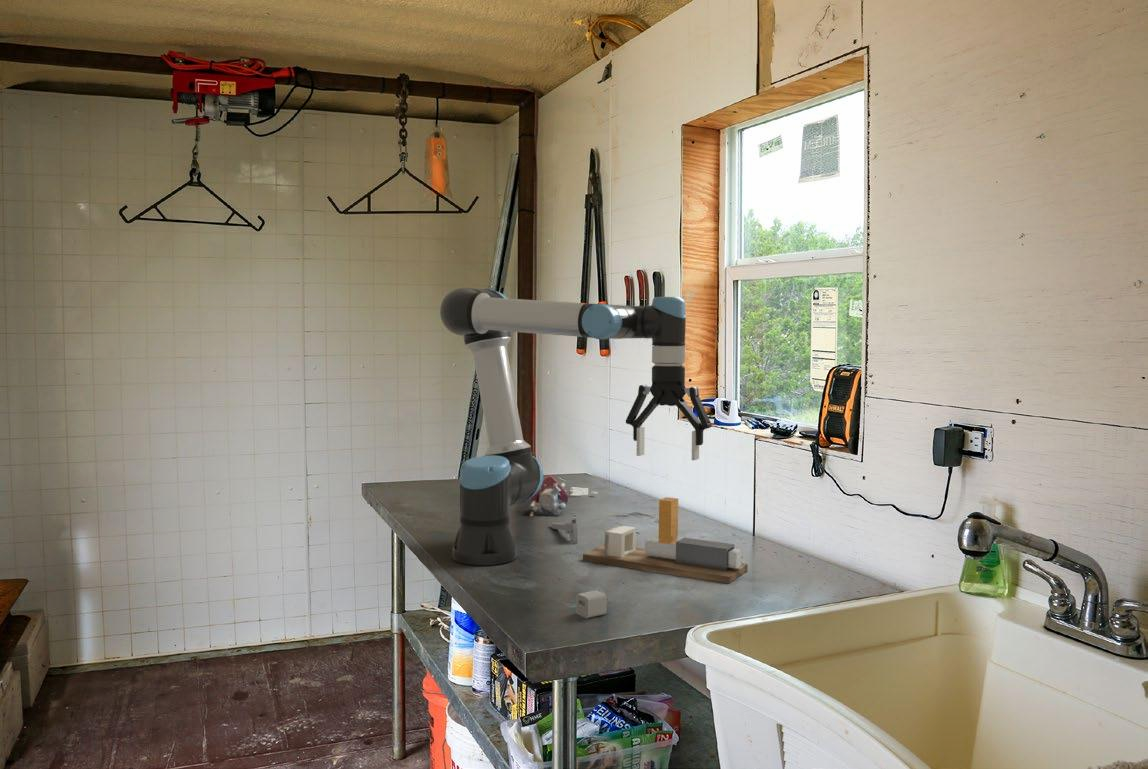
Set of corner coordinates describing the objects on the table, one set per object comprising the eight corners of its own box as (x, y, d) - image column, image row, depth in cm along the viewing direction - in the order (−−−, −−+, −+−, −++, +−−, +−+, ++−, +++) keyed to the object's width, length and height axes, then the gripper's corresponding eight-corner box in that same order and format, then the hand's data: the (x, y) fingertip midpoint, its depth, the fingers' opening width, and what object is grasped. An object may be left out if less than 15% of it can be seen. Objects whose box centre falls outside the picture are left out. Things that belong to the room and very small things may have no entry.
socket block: (621, 557, 207) (621, 533, 207) (604, 554, 210) (604, 531, 209) (635, 550, 214) (636, 527, 214) (619, 547, 216) (619, 525, 216)
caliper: (577, 544, 226) (577, 520, 226) (573, 545, 226) (573, 520, 226) (553, 527, 246) (553, 504, 245) (549, 527, 245) (549, 504, 245)
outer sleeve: (726, 571, 196) (726, 549, 196) (675, 563, 202) (675, 542, 202) (733, 566, 201) (734, 544, 200) (684, 558, 206) (684, 537, 206)
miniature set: (487, 496, 285) (488, 495, 297) (596, 502, 287) (593, 501, 299) (488, 475, 285) (489, 475, 297) (598, 482, 288) (594, 481, 300)
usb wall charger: (575, 613, 172) (576, 593, 171) (604, 607, 175) (605, 587, 175) (588, 619, 168) (588, 598, 168) (617, 612, 172) (617, 592, 172)
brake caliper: (572, 501, 269) (568, 473, 261) (567, 529, 260) (563, 502, 253) (534, 499, 270) (530, 472, 262) (529, 528, 262) (524, 500, 254)
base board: (729, 583, 192) (729, 576, 192) (582, 560, 210) (582, 554, 210) (747, 570, 203) (747, 564, 203) (606, 549, 220) (606, 543, 220)
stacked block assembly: (735, 568, 196) (737, 509, 195) (644, 555, 206) (645, 498, 206) (741, 564, 199) (743, 505, 198) (651, 551, 210) (652, 495, 209)
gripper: (726, 365, 201) (724, 459, 203) (626, 363, 213) (625, 451, 215) (714, 366, 195) (713, 463, 196) (612, 364, 207) (611, 455, 208)
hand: (667, 457), depth 205 cm, fingers open, 13 cm apart
